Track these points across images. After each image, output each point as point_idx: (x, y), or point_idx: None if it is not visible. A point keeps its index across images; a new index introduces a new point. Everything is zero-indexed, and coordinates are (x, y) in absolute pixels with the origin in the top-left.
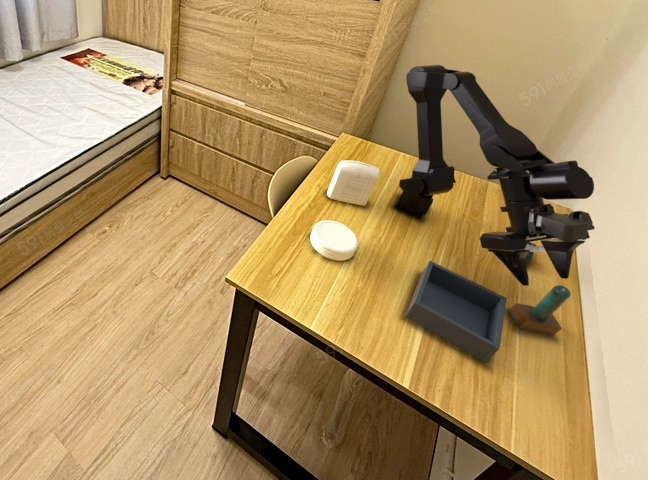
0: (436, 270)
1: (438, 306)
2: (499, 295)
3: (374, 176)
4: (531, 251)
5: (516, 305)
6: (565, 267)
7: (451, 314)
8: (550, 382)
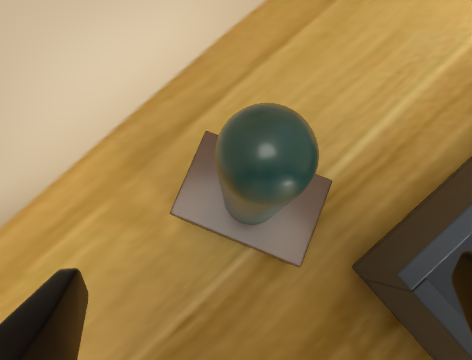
0: None
1: None
2: (426, 294)
3: None
4: None
5: (304, 256)
6: (34, 347)
7: None
8: (357, 27)
